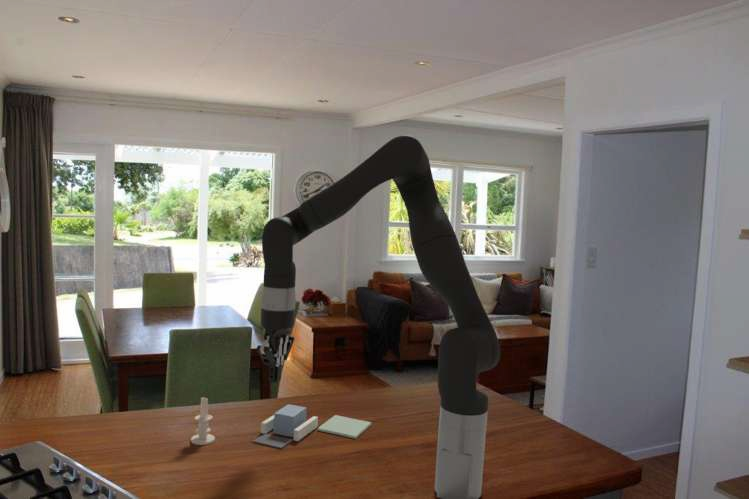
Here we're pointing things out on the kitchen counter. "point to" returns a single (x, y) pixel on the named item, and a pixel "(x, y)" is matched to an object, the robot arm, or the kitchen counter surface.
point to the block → (289, 419)
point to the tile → (344, 426)
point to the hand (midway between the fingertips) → (274, 381)
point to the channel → (280, 441)
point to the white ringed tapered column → (203, 425)
